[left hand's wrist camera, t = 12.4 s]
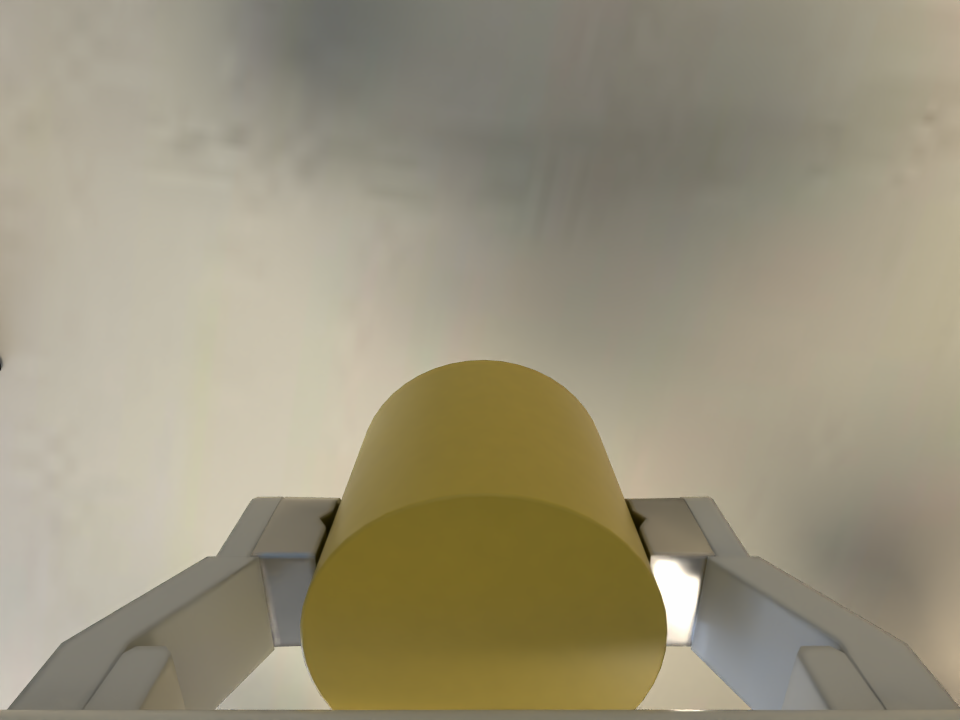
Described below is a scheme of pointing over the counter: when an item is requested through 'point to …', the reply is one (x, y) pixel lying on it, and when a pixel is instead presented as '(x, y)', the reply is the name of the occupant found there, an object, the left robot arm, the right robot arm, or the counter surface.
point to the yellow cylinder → (483, 558)
